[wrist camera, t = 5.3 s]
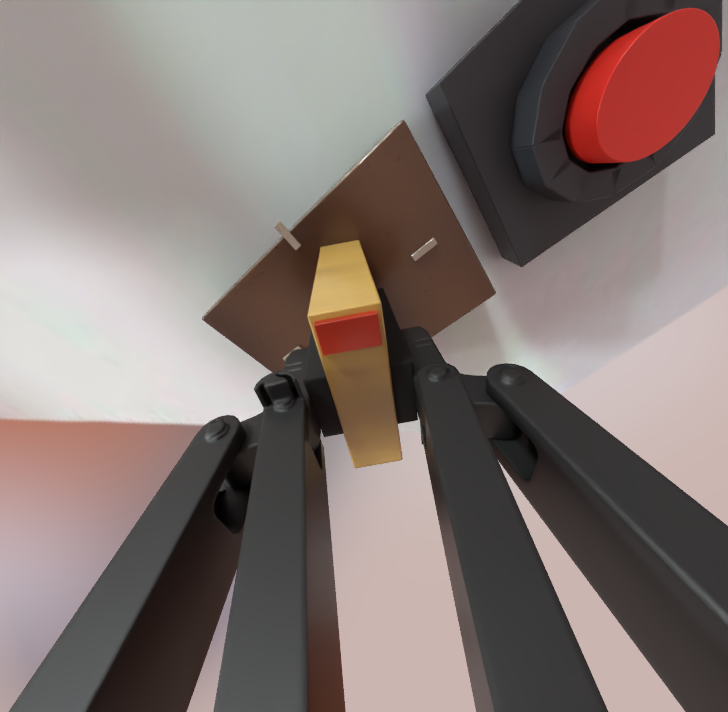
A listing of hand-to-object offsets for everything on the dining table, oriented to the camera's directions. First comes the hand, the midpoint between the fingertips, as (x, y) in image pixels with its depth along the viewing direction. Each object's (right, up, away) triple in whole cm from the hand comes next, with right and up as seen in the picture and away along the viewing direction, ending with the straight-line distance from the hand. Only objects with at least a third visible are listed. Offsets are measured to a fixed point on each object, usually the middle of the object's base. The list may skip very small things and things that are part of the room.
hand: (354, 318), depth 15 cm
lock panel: (0, +3, +4) cm, 4 cm away
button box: (+10, +10, 0) cm, 15 cm away
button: (+11, +8, -3) cm, 14 cm away
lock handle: (0, +1, +1) cm, 1 cm away
